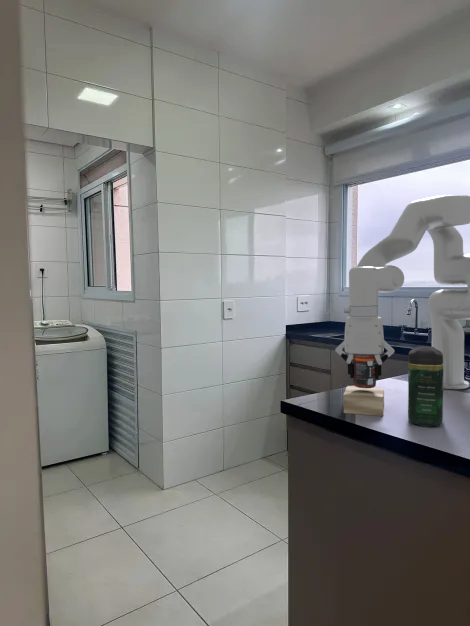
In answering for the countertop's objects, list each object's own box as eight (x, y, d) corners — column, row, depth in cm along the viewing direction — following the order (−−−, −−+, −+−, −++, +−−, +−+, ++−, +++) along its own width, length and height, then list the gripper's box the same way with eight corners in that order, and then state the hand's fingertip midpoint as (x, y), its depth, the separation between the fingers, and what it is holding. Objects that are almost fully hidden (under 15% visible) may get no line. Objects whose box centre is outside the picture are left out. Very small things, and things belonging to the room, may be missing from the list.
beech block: (347, 402, 122) (347, 385, 121) (384, 405, 118) (384, 387, 118) (343, 412, 112) (343, 394, 112) (383, 416, 109) (383, 397, 108)
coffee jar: (444, 429, 98) (444, 350, 97) (407, 425, 101) (407, 349, 100) (442, 417, 107) (442, 344, 105) (409, 414, 110) (408, 343, 109)
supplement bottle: (377, 389, 111) (377, 347, 111) (354, 388, 113) (353, 347, 112) (374, 383, 117) (374, 343, 116) (352, 383, 118) (352, 343, 118)
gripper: (329, 313, 113) (330, 379, 114) (397, 313, 107) (398, 382, 108) (333, 311, 120) (334, 373, 121) (397, 311, 114) (398, 376, 115)
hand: (364, 377), depth 115 cm, fingers closed on supplement bottle, 6 cm apart
